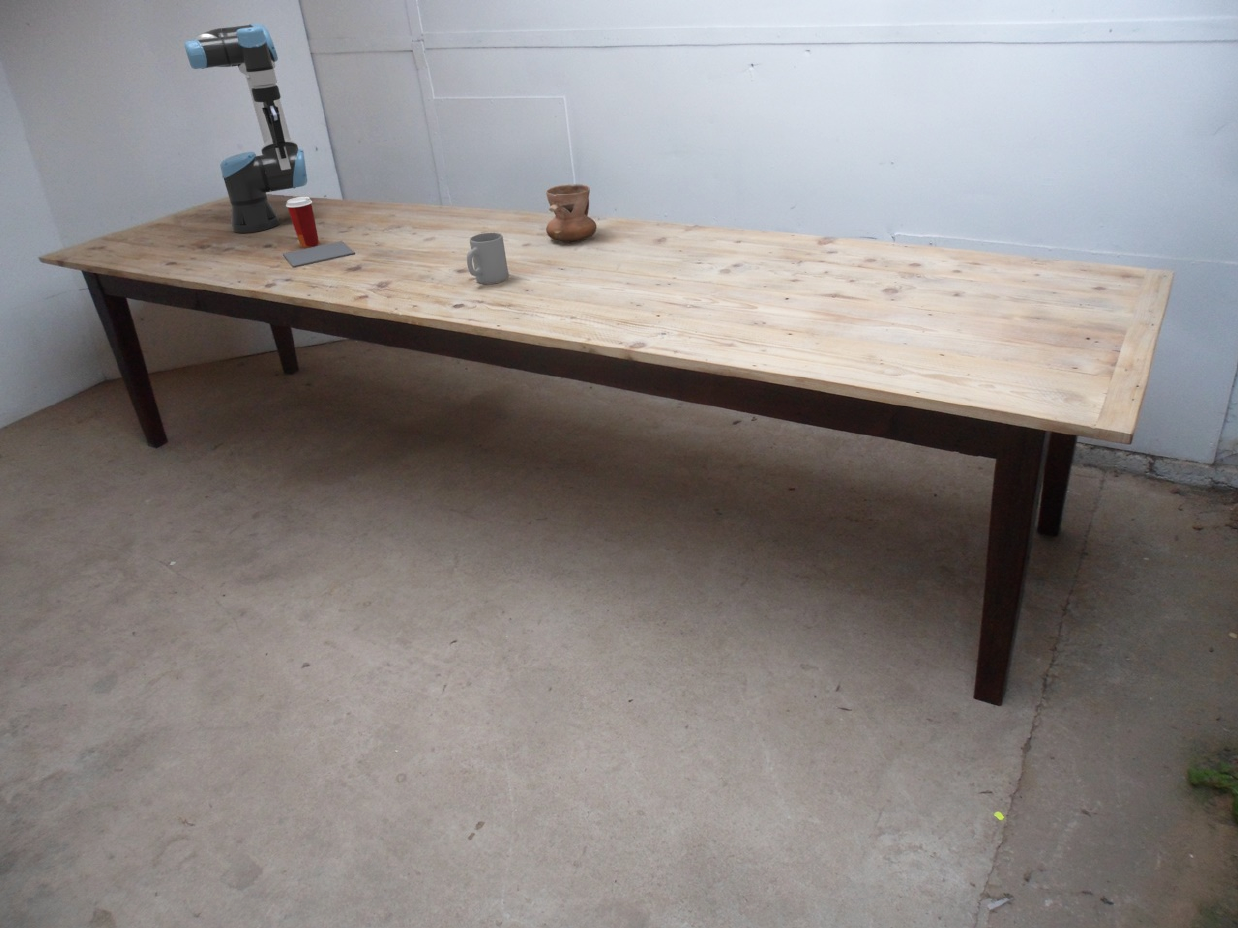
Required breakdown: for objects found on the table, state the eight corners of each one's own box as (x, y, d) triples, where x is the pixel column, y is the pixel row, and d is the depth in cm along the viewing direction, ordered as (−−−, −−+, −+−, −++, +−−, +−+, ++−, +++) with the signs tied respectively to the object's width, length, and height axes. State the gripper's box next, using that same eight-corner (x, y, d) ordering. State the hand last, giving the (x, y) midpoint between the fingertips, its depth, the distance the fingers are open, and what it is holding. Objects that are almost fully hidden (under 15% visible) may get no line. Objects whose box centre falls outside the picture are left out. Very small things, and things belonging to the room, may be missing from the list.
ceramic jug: (576, 249, 253) (571, 197, 246) (534, 244, 260) (529, 194, 253) (611, 232, 266) (607, 183, 259) (571, 228, 273) (566, 179, 266)
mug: (490, 272, 242) (484, 231, 236) (515, 275, 237) (509, 234, 232) (460, 286, 234) (452, 244, 228) (485, 290, 229) (478, 247, 224)
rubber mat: (283, 255, 274) (282, 253, 273) (342, 242, 280) (342, 240, 280) (293, 267, 261) (293, 266, 261) (355, 254, 268) (354, 252, 268)
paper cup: (326, 240, 284) (315, 195, 277) (317, 248, 277) (305, 202, 270) (302, 242, 285) (290, 197, 278) (292, 249, 278) (280, 203, 271)
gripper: (247, 86, 268) (269, 168, 280) (254, 89, 258) (277, 174, 270) (273, 82, 271) (294, 164, 283) (281, 86, 261) (302, 170, 273)
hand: (286, 169), depth 276 cm, fingers closed
